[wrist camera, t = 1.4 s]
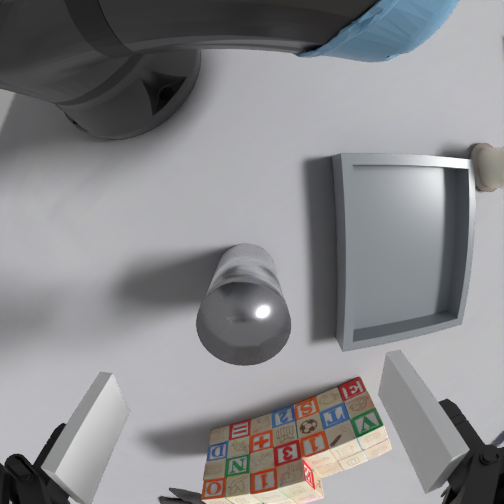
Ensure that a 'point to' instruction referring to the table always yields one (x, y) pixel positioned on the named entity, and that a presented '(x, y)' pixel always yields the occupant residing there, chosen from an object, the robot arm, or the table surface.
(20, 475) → the robot arm
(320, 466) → the stack of blocks
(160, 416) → the table surface
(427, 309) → the tray
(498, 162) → the door knob
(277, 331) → the shaker
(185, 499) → the cloth
